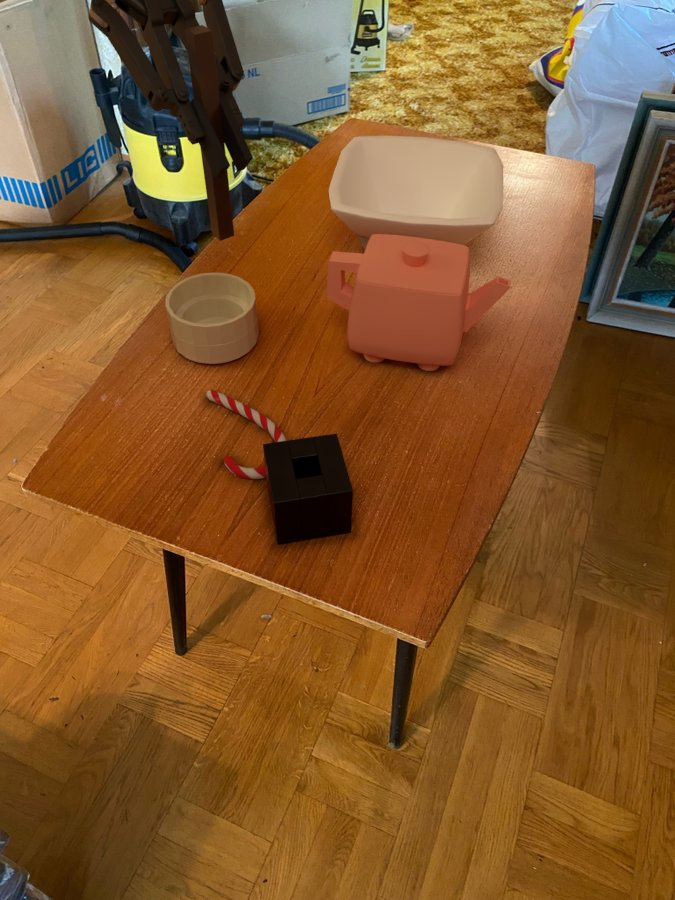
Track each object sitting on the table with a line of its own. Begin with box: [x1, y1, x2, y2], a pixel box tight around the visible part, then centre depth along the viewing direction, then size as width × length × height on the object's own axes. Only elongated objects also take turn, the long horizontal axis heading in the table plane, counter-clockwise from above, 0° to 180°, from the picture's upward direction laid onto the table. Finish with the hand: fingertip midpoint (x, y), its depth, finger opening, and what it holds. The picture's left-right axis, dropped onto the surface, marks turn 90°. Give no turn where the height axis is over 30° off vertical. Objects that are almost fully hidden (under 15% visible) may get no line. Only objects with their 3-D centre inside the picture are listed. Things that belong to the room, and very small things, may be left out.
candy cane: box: [205, 389, 287, 480], centre depth 81 cm, size 8×1×15 cm
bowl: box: [328, 134, 504, 252], centre depth 106 cm, size 24×25×10 cm
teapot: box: [325, 234, 512, 372], centre depth 88 cm, size 22×13×14 cm, turn 78°
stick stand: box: [262, 433, 354, 546], centre depth 72 cm, size 8×8×7 cm
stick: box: [185, 24, 235, 242], centre depth 69 cm, size 2×2×20 cm
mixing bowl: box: [164, 271, 260, 365], centre depth 90 cm, size 11×11×6 cm
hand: (233, 168), depth 68 cm, fingers closed on stick, 2 cm apart
